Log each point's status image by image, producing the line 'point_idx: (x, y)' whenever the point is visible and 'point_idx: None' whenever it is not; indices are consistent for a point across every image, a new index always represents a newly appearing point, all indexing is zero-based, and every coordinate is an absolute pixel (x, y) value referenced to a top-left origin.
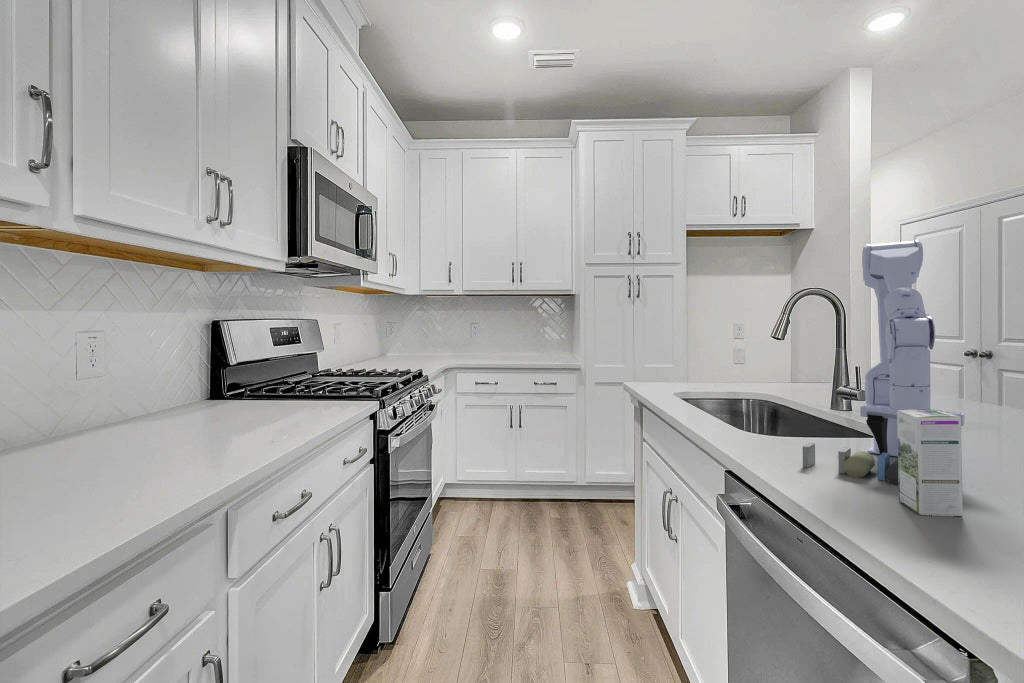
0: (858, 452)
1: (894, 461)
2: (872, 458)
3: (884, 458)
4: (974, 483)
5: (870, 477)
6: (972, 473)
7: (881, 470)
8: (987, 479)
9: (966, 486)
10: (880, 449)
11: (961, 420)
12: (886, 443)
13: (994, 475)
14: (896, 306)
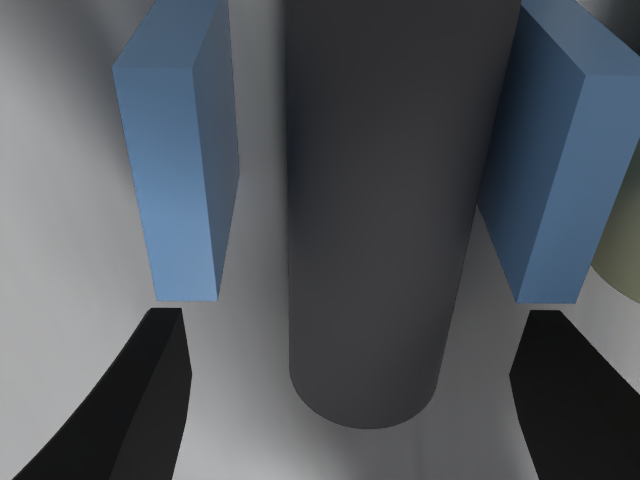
0: None
1: (461, 222)
2: (630, 258)
3: (585, 71)
4: (10, 293)
5: (614, 22)
6: None
7: (562, 17)
8: (4, 394)
9: (9, 203)
10: (594, 357)
11: None
12: (547, 471)
13: (16, 463)
14: None
